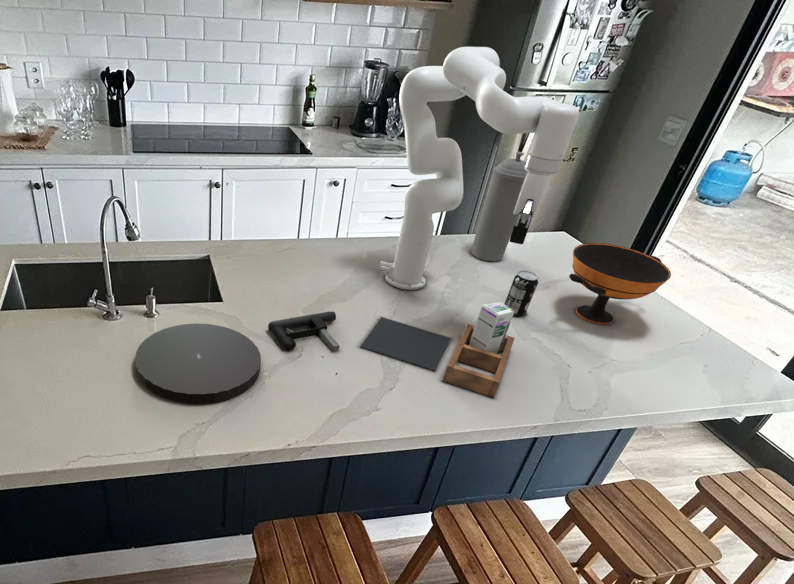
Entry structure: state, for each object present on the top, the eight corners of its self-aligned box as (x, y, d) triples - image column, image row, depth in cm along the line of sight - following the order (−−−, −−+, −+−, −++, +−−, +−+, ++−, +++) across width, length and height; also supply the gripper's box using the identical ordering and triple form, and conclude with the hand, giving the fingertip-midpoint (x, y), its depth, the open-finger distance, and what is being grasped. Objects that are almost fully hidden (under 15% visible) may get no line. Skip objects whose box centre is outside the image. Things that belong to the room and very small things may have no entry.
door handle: (359, 339, 149) (330, 306, 160) (290, 352, 142) (265, 317, 153) (357, 349, 151) (328, 316, 162) (289, 363, 144) (264, 327, 155)
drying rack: (442, 380, 141) (447, 365, 138) (462, 337, 158) (467, 323, 155) (493, 397, 137) (499, 382, 134) (509, 351, 154) (514, 337, 151)
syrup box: (481, 363, 148) (499, 315, 139) (465, 351, 152) (482, 303, 143) (497, 359, 151) (516, 310, 142) (481, 347, 155) (498, 299, 145)
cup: (591, 349, 157) (620, 292, 146) (520, 306, 174) (542, 252, 163) (669, 324, 172) (701, 271, 161) (596, 287, 189) (621, 236, 178)
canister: (510, 256, 203) (547, 154, 182) (494, 266, 196) (531, 160, 174) (477, 245, 210) (510, 144, 188) (461, 254, 202) (492, 150, 181)
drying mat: (359, 347, 151) (360, 346, 150) (381, 318, 163) (381, 316, 163) (434, 371, 144) (434, 370, 144) (450, 339, 157) (451, 338, 157)
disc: (123, 343, 145) (122, 333, 143) (233, 325, 155) (234, 315, 153) (154, 416, 124) (153, 405, 122) (279, 389, 134) (281, 379, 132)
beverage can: (522, 307, 174) (536, 271, 167) (527, 318, 169) (542, 281, 162) (500, 304, 174) (513, 268, 167) (505, 315, 169) (519, 279, 162)
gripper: (529, 153, 138) (507, 222, 149) (521, 170, 126) (497, 244, 136) (562, 158, 136) (537, 228, 146) (557, 176, 123) (530, 251, 134)
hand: (518, 236), depth 141 cm, fingers open, 9 cm apart
